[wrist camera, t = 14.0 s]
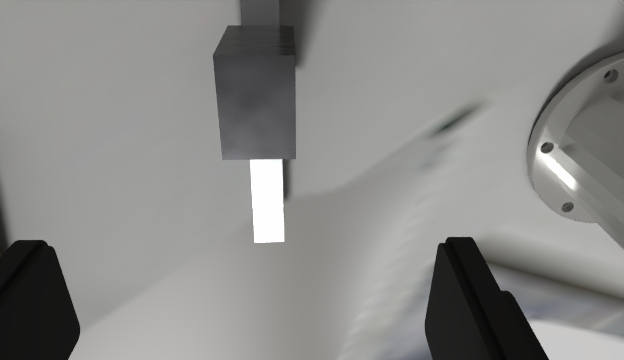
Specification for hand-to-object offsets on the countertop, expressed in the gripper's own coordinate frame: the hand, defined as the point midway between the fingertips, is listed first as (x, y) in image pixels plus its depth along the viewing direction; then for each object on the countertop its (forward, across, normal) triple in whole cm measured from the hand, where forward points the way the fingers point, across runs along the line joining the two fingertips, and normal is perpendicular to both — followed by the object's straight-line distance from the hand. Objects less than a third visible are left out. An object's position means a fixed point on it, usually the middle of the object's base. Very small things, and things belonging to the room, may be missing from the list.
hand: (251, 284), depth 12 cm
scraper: (+20, +1, 0) cm, 20 cm away
